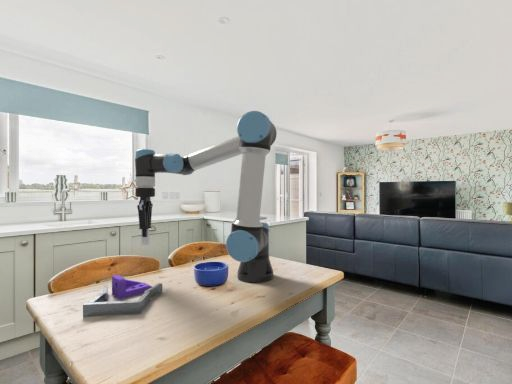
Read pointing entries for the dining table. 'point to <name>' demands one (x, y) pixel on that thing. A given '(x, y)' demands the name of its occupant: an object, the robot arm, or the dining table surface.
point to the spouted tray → (118, 304)
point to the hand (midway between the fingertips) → (145, 244)
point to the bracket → (127, 287)
